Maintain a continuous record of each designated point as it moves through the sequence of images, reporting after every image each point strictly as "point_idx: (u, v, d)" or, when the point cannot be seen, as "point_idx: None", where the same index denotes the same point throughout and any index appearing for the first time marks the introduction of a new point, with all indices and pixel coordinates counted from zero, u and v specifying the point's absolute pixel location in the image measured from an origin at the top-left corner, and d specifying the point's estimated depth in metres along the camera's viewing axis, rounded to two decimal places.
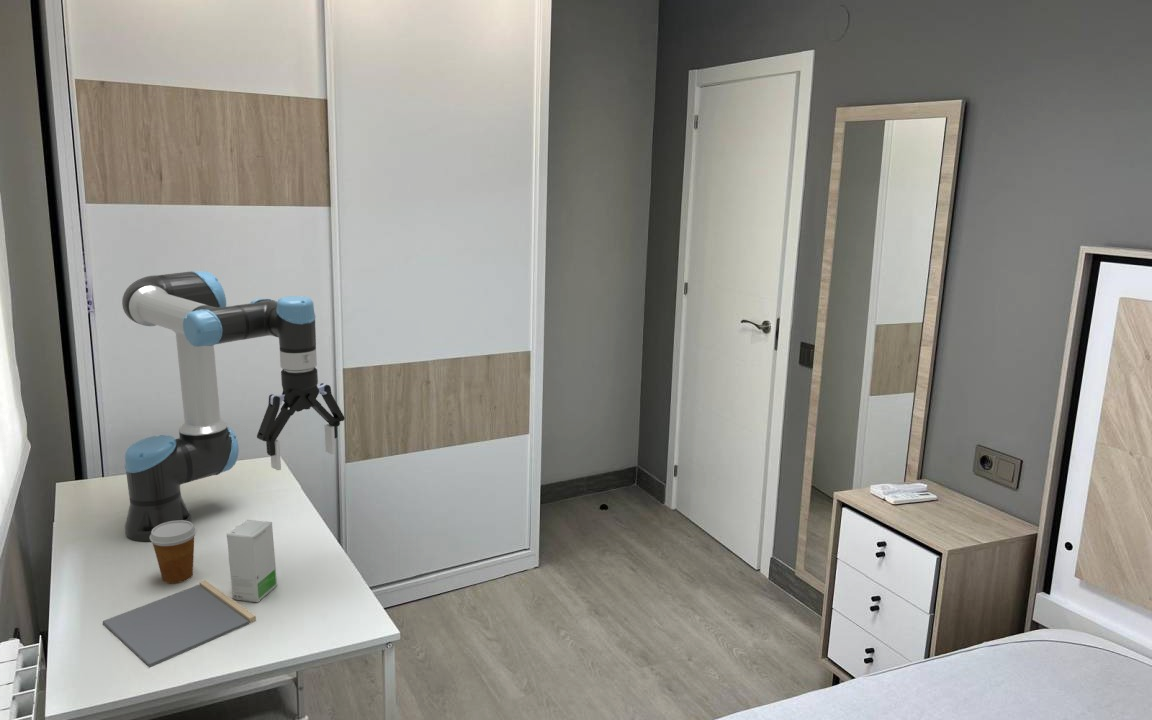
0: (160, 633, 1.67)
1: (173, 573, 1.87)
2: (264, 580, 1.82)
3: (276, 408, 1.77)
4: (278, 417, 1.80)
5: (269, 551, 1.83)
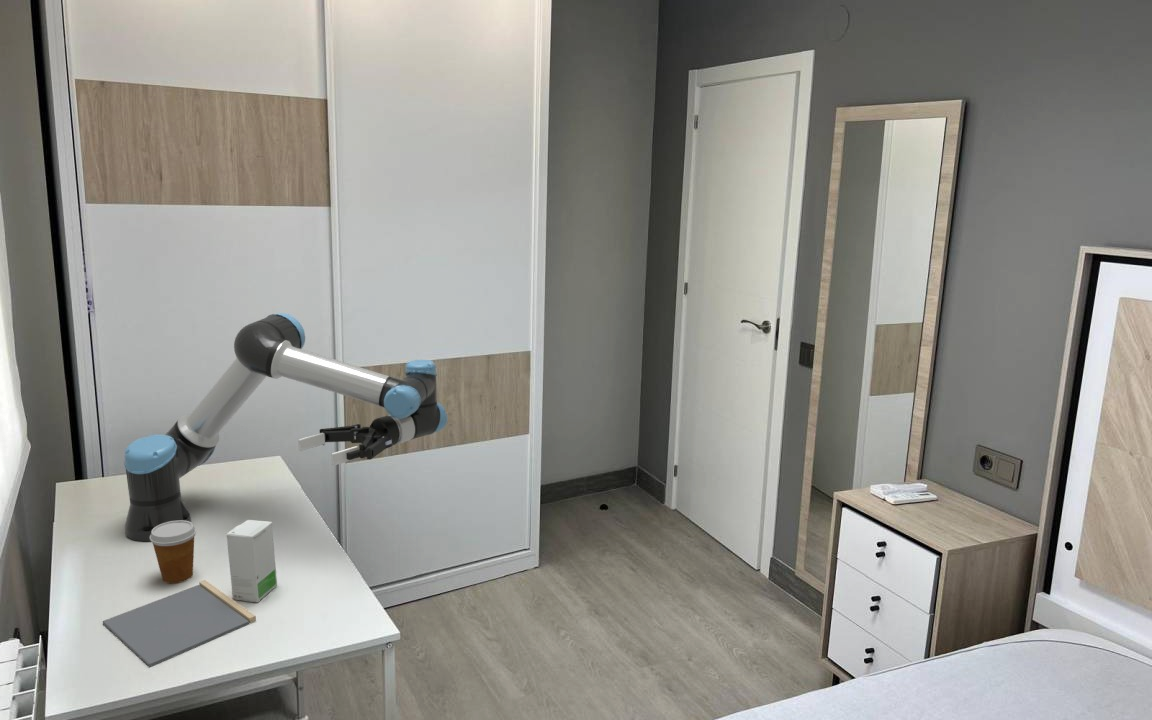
0: (160, 633, 1.67)
1: (173, 573, 1.87)
2: (264, 580, 1.82)
3: None
4: (369, 442, 1.95)
5: (269, 551, 1.83)
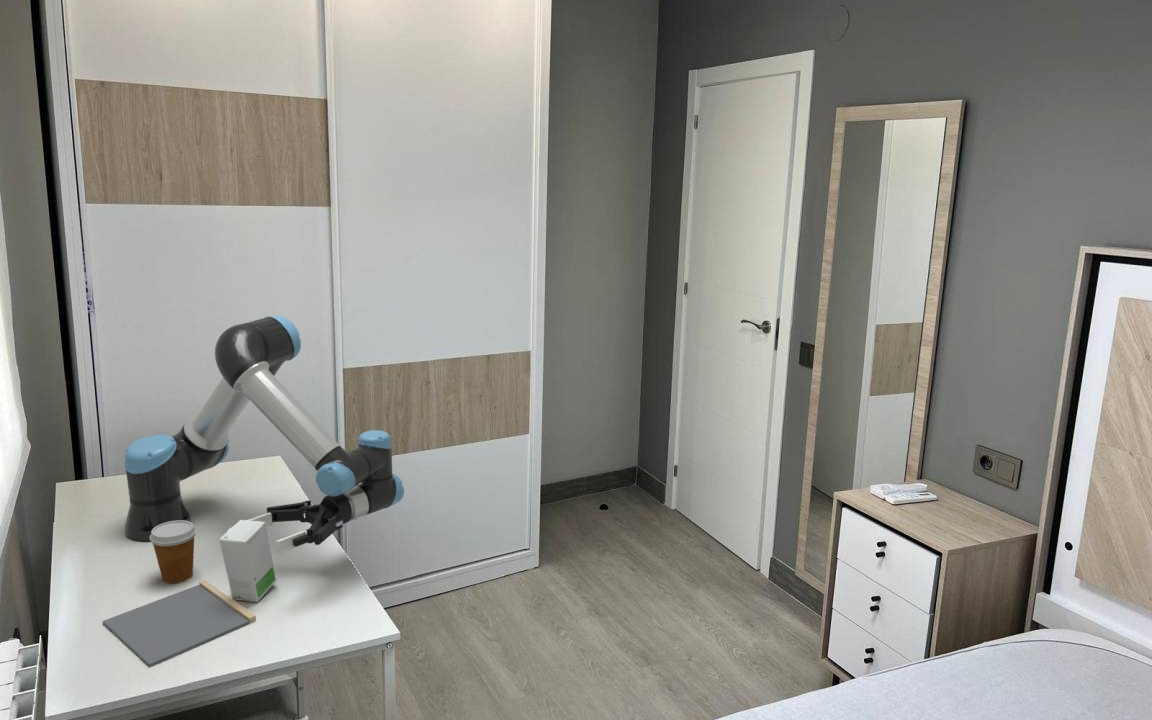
0: (160, 633, 1.67)
1: (173, 573, 1.87)
2: (262, 580, 1.81)
3: None
4: (318, 525, 1.85)
5: (264, 551, 1.82)
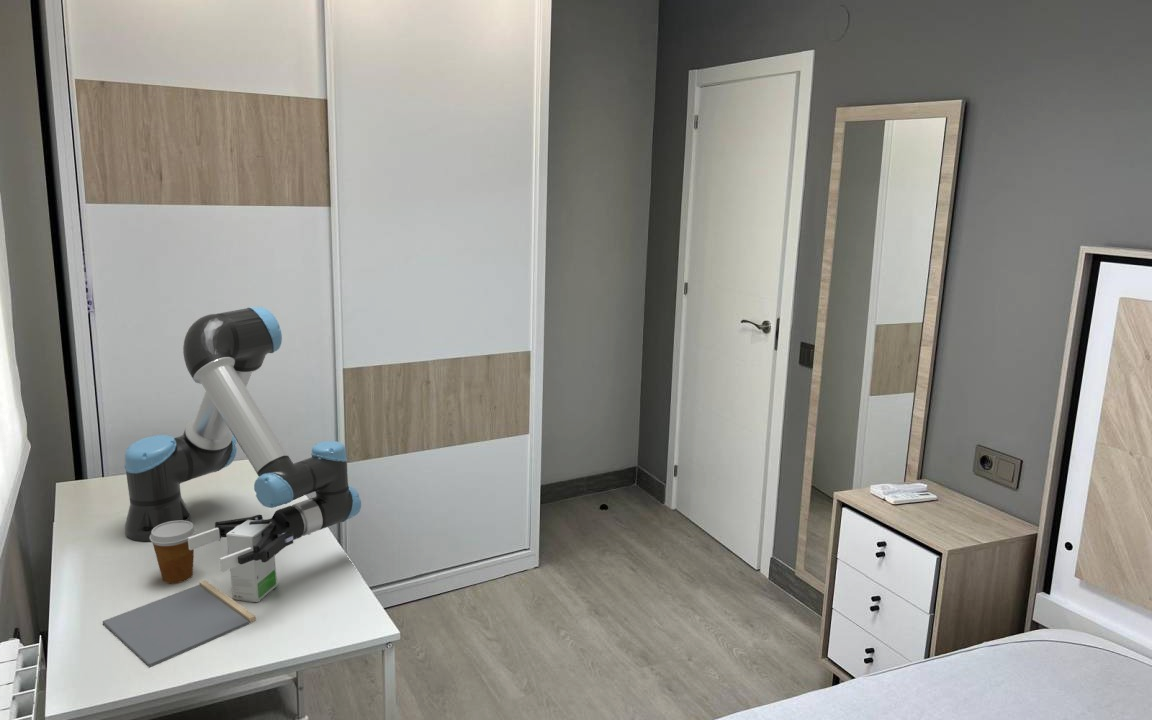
0: (160, 633, 1.67)
1: (173, 573, 1.87)
2: (264, 580, 1.82)
3: None
4: (267, 541, 1.77)
5: None
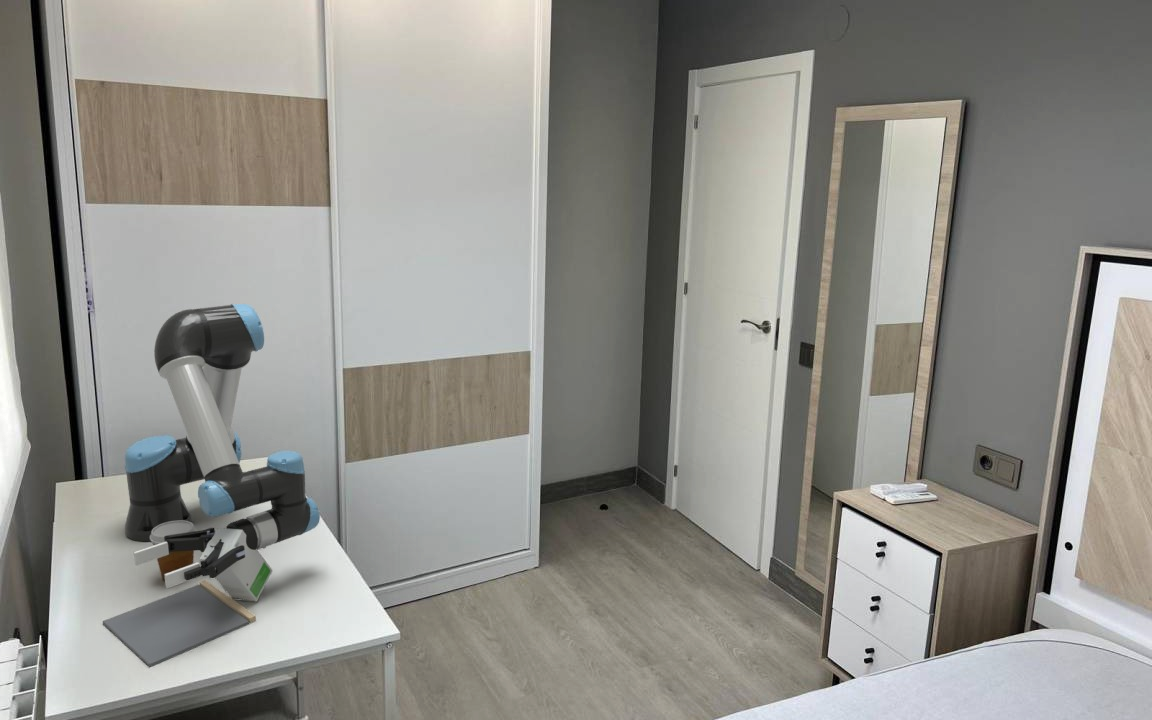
0: (160, 633, 1.67)
1: None
2: (255, 580, 1.79)
3: None
4: (217, 555, 1.70)
5: (250, 555, 1.77)
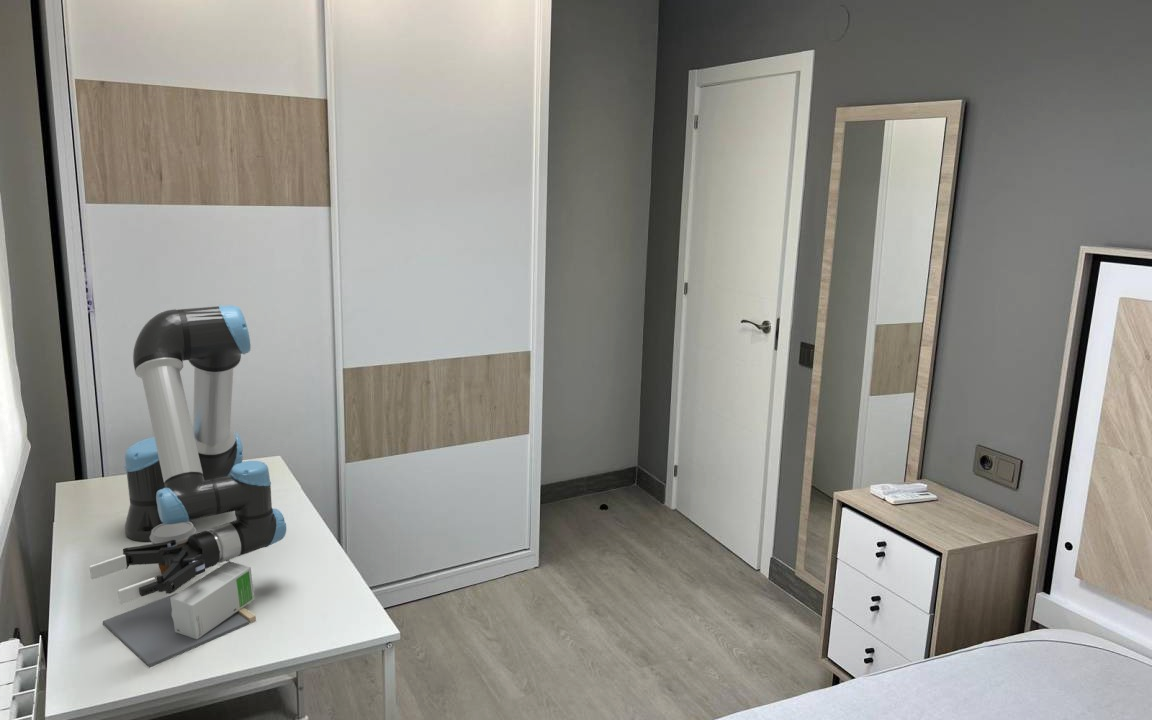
0: (160, 633, 1.67)
1: None
2: (240, 596, 1.75)
3: None
4: (175, 569, 1.64)
5: (218, 599, 1.69)
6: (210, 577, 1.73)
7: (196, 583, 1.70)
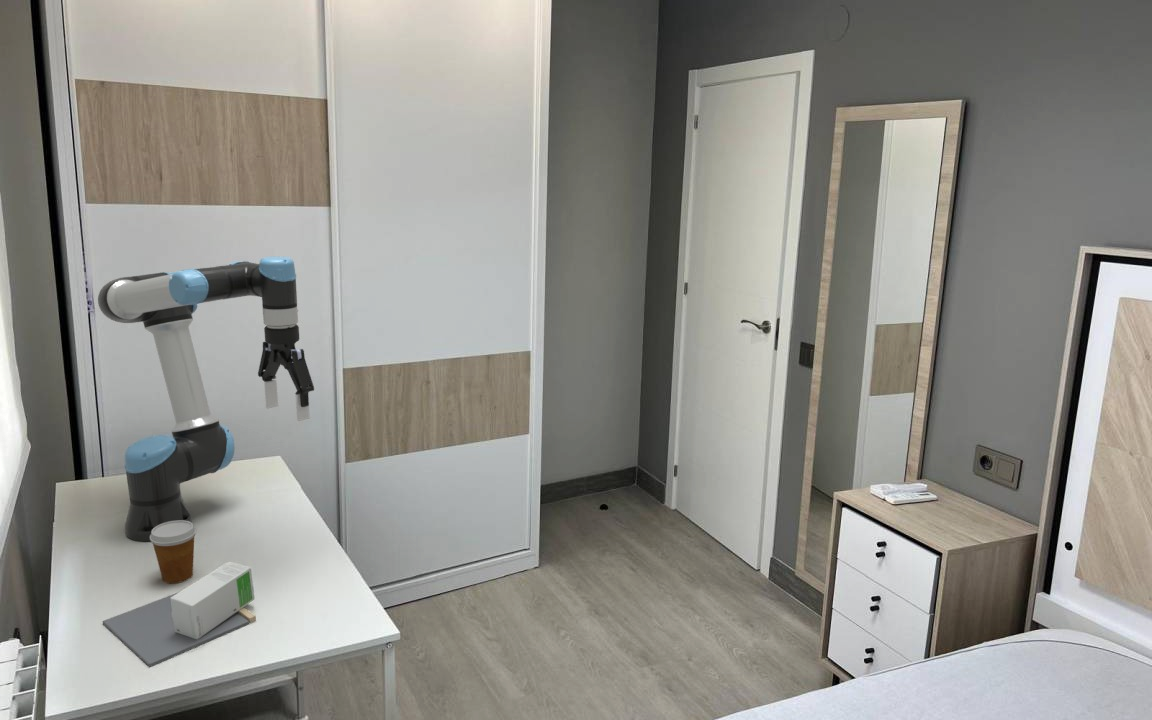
0: (160, 633, 1.67)
1: (173, 573, 1.87)
2: (240, 596, 1.75)
3: None
4: (294, 372, 1.90)
5: (218, 600, 1.69)
6: (211, 577, 1.73)
7: (196, 583, 1.70)
